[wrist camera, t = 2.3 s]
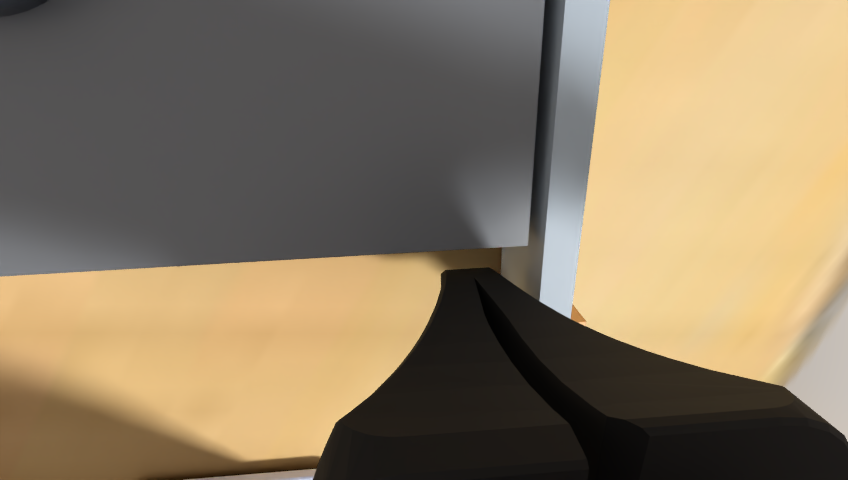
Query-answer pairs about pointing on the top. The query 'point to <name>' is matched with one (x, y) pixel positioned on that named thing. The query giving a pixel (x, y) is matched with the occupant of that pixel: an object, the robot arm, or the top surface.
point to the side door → (561, 153)
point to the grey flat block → (262, 129)
